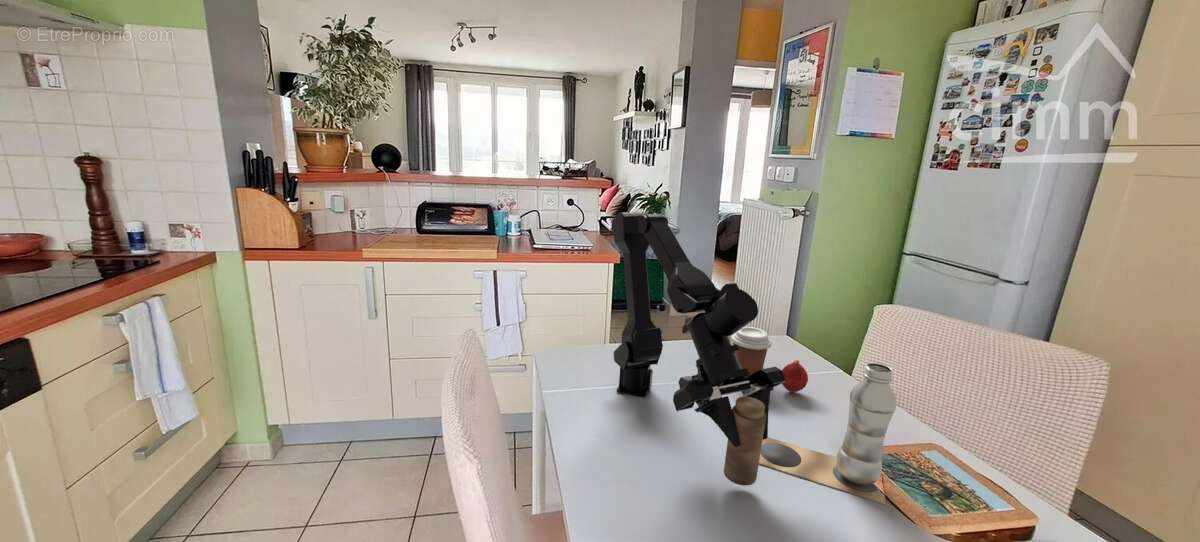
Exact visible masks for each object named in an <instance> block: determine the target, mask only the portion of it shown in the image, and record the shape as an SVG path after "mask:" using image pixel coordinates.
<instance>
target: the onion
mask: <svg viewBox="0 0 1200 542" xmlns="http://www.w3.org/2000/svg"><path fill="white" fill-rule="evenodd" d="M781 370H782V372H783V374H784V377H785V379H786V382H784V383H782V384H781V385H782V386H783V388H784V389H785V390H787V391H788V392H789V393H791V394H793V393H797V392H800V391H801V390H803V389H804V388H806V386H807V384H808V381H809V375H808V372H807V371H806V369H805V368H804V366H803V365H801V364H800V360H799V359H794V360H793V362H792V363H789V364H786V365H785V366H784V367H783V368H782V369H781Z"/></svg>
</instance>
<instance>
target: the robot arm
mask: <svg viewBox="0 0 1200 542" xmlns="http://www.w3.org/2000/svg"><path fill="white" fill-rule="evenodd" d="M611 231H612V234H613V240H614V243H615V245H616V247H617V248H618V249H619V251H620V252H621V254H622V259H623V260H622V261H623V272H624V283H625V284H624V285H625V299H626V310H627V311H626V313H627V322H626V324H625V326H624V328H623V330H622V332H621V343H620V344H619V346H618V347H617V348H616V349H614V351H613V361H614V363H616V365H618V366H619V377H618V386H617V388H616V392H617V393H621V394H625V395H631V396H636V397H642V398H645V397H646V396H647V395H648V393H649V392H650V390H651V388H652V384H653V373H654V371H653V369H651V368H652V367H651V366H652V365H658V363H659V360H660V358H661V356H662V354H663V353H662V352H663V347H664V344H663V340H662V330H661V327H657V326H656V325H655V324H654V322H653V320H652V318H651V317H652V315H651V305H650V304H651V303H650V290H649V289H650V288H649V279H648V278H649V277H648V266H647V265H648V264H647V263H648V261H647V251H648V249H649V246H650V248H651V250H652V252H653V253H654V255H655V258H656V259H657V261H658V263H659V264H660V266H661V268H662V270H663V272H664V274H665V276H666V278H667V286H666V287H667V288H666V292H667V295H668V297H669V300H670V304H671V305H672V308H673V309H674V311H675V312H676V313H678V314H683V315H685V314H692V313H693V314H694V313H697V314H695V315H694V316H693V317H686V318H685V321H684V325H683V326H682V330H681V333H682V334H690V337H691V340H692V342H693V345H694V347H695V350H696V352H697V356H698V358H697V359H696V360H695V363H696V364H695V365H696V369H697V374H694V375H693V374H692V375H686V376H681V377H680V378H679V379H678V382H677V383H678V385H679V389H678V390H676V391H674V392H673V398H672V402H673V405H674V408H675V411H676V412H679V411H684V410H690V409H692V408H694V406H695V404H696V405H697V407H696V408H694V412H696V413H703V415H705V416H707V417H709V418H710V419H711V420H712V422H714V423H715V424H716V426H717V427H718V428H719V429H720V431H722V433H723V434H724V436H725V437H726V439H727V440H728V439H729V441H730V442H731V443H732V444H733V446H734V447H738V446H740V439H739V434H738V430H737V427H736V423H735V419H734V416H733V412H732V408H733V407H732V404H731V401H730V397H729V395H731V394H736V393H740V392H741V393H742V397H752V398H755V399H758V400H760V401H761V402H762V403H763V404H764V405H765V410H764V412H765V414H766V422H765V428H764V434H763V440H764V439H767V438H768V437H769V435H768V434H769V409H770V401H771V400H770V399H771V392H772V391H774V390H775V388H776V387H778V386H780V385H782V383H784V382H786V379H785V377H784V374H783V372H782V369H781V368H779V367H777V366H772V367H767V368H763V369H761V370H759V371H757V372H755V373H753V374H752V375H750V374H749V372H748V369H741V366H740V364H739V361H738V359H737V357H736V354H735V353H736V352H738V351H739V348H738V345H732V344H731V342H730V340H729V337H728V336H731V335H733V334H735V333H736V332H737V331H739V330H740V329H742V328H743V327H747V325H749V324H750V323H752V322H753V321H754V320H755V319H756V318H757V316H758V314H759V307H758V303H757V302H756V300H755V299H754V298H753V297H752V296H751V295H750V294H749V293H748V292H746V290H743V289H740V288H739V286H738V284H737V283H736V282H731V283H730V282H729V283H725V284H724V285H723V286H722V287H721V289H719V288H718V287H716V286H715V284H714V282H713V281H712V280H711V279H710V278H709V276H708V275H707V274H706V273H705V272H704V271H702V270H701V269H699V268H698V267H696V266H694V265H693V264H692V263H691V261H690V260H689V258H688V256H687V255H686V252H685V251H684V250H683V248H682V246H681V245H680V243H679V241H678V239H677V238H676V236H675V234H674V232H673V231H672V229H671V228H670V225H669V221H668V217H667V216H666V215H663V214H662V213H647V212H645V211H644V212H643V211H641V212H639V211H637V212H635V211H634V212H633V211H632V212H630V211H629V212H627V211H626V212H618V213H617V214H616V215H615V217H613V219H612V220H611ZM748 375H750V376H748ZM746 376H748V377H746ZM745 377H746V378H745Z"/></svg>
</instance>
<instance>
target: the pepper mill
mask: <svg viewBox="0 0 1200 542" xmlns="http://www.w3.org/2000/svg"><path fill="white" fill-rule="evenodd" d="M731 408H732V412H733V416H734V419H735V423H736V427H737V430H738V434H739V439H740V446H738V447H734V446H733V444H732V443H731V442H730V441H729V439H728V438H727V445H726V450H725V457H724V459H725V460H724V466H723V474H724V476H725V477H726V479H728V481H730V482H731V483H733V484H735V485H738V486H751V485H754V484H755V483H756V481H757V478H758V477H757V476H758V472H759V465H760V464H759V460H760V453H761V447H762V441H763V434H764V428H765V422H766V414H765V412H764V410H765V405H764V404H763V403H762V402H761V401H760V400H758V399H755V398H752V397H744V396H740V397H738V398H737V399H736V400H735V405H734V406H732V407H731Z"/></svg>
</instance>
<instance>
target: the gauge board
mask: <svg viewBox="0 0 1200 542" xmlns="http://www.w3.org/2000/svg"><path fill="white" fill-rule="evenodd" d="M836 457H837V456H833V455H831V454H830V455H829V454H827V453H823V452H819V451H817V450H813V449H809V448H807V447H806V448H805V447H802V446H799V445H796V444H793V443H789V442H786V441H782V440H780V439H775V438H771V437H769V436H768V438H767V439H764V440H763V441H762V447H761V453H760V460H759V465H761V466H763V467H767V468H770V469H772V470H776V471H780V472H782V473H785V474H789V475H791V476H795V477H797V478H802V479H804V480H807V481H811V482H813V483H817V484H820V485H823V486H827V487H828V488H829V487H830V488H832V489H835V490H838V491H841V492H845V493H848V494H851V495H854V496H858V497H861V498H864V499H866V500H870V501H873V502H876V503H878V504H883V505H886V497H885V493H884V494H883V493H881V492H880V491H879V489H877V487H876V486H875V485H874V484H871V485H858V484H855V483H852V482H850V481H848V480H846V479H845V478H844V477H842V476H841V474H840V473H839V471H838V469H837V466H836Z"/></svg>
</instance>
